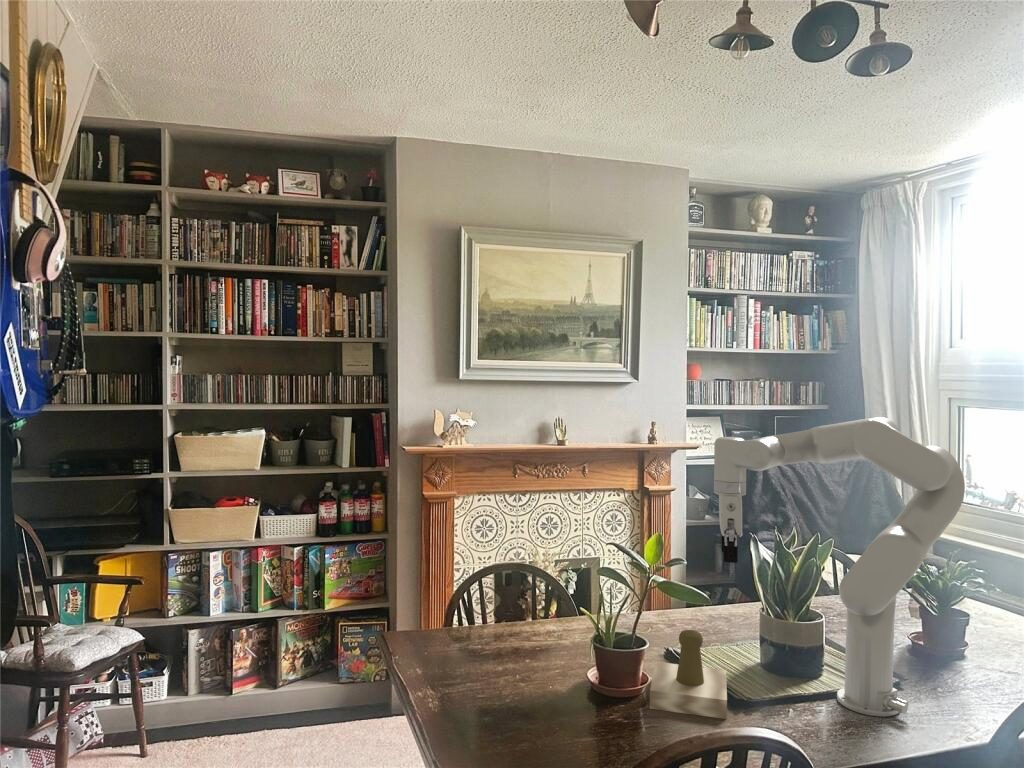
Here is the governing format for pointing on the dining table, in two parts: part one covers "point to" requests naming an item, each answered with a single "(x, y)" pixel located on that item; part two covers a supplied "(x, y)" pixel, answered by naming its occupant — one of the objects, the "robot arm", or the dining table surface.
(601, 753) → the dining table surface
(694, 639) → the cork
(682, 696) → the birch base
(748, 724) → the dining table surface
